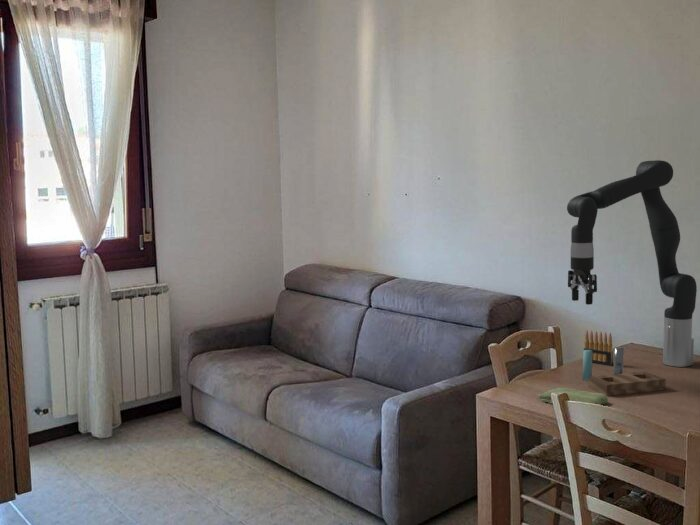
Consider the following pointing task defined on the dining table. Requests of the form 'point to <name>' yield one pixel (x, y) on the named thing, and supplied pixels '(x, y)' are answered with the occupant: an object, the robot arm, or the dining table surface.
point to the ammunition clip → (599, 348)
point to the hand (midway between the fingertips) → (581, 302)
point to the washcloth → (576, 396)
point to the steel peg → (618, 360)
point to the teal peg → (587, 364)
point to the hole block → (626, 383)
